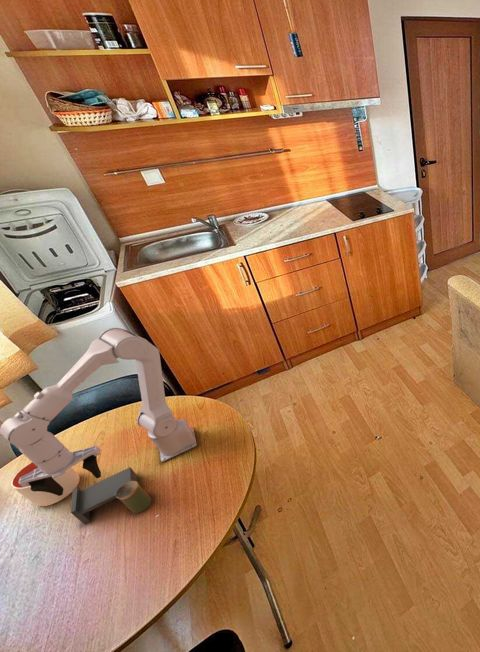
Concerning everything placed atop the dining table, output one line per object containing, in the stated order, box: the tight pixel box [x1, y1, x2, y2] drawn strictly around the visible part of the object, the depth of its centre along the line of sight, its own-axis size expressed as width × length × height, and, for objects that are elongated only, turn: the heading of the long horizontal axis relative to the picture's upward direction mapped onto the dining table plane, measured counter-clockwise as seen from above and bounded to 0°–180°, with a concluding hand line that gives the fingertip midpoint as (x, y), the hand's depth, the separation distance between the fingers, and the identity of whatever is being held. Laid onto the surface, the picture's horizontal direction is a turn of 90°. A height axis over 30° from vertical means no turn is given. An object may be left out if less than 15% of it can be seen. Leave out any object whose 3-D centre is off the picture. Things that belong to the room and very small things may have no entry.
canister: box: [116, 481, 152, 514], centre depth 101 cm, size 5×5×8 cm
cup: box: [10, 461, 81, 507], centre depth 104 cm, size 10×10×10 cm
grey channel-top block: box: [70, 466, 139, 525], centre depth 103 cm, size 12×8×6 cm, turn 128°
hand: (80, 483), depth 98 cm, fingers open, 7 cm apart
